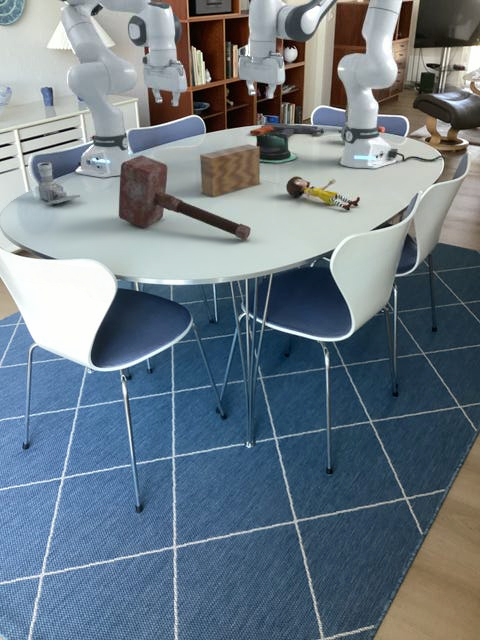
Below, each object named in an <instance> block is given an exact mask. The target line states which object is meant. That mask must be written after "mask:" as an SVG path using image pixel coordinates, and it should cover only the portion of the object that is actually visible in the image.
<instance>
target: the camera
mask: <svg viewBox="0 0 480 640" xmlns="http://www.w3.org/2000/svg"><path fill="white" fill-rule="evenodd" d="M37 169H38V172H39V174H40V179H41V182H39V183H38V186H37V187H38V194H39V198H40V199H42V200H45V201H47V205H53V204H60V203H63V202H67V201H70V200H75V199H78V198H81V197H82V196H81V195H80V194H73V195H68V194H67V192H66V190H64V186H62V185H61V184H59V183H55V181H54V177H53V166H52V163H51V162H50V161H43V162H39V163H37ZM67 195H68V196H67Z"/></svg>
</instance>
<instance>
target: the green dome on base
mask: <svg viewBox="0 0 480 640" xmlns="http://www.w3.org/2000/svg"><path fill="white" fill-rule="evenodd" d="M255 146H258V147H260V162H266V163H276V164H280V163H281V164H282V163H285V162H290V161H292V160H293V161H294V160H296V158H297V155H296V154H295V153H293V152H291V150H290V149H289V137H288V136H287V135H286V134H284V133H282V132H267V133H263V134H259V135H257V136H256V144H255Z"/></svg>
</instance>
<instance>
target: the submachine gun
mask: <svg viewBox="0 0 480 640" xmlns="http://www.w3.org/2000/svg"><path fill="white" fill-rule="evenodd" d="M318 128H319V127H318V126H315V125H313V126H312V125H304V124H303V125H302V124H291V123H278V122H264V124H262V125H261V126H260V127H259V128H256V129H252V130H250V131H249V134H250V135H251V136H255V137H257V135H259V134H263V133H267V132H279V133H284V134H286V135H287V136H288V138H290V137H291V136H292V135H293V134H311V136H312V137H319V136H322V135H323V134H324V133H325V130H324V128H319V129H318Z"/></svg>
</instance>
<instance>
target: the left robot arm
mask: <svg viewBox="0 0 480 640" xmlns="http://www.w3.org/2000/svg"><path fill="white" fill-rule="evenodd" d="M58 1H59V2H61V3H66V4H67V5H66V6H65V7H64V8H63V9H62V10H61V12H60V22H61V26H62V30H63V32H64V35H65V38H66V39H67V42H68V44H69V46H70V48H71V50H72V52H73V54H74V56H75V58H76V59H77V60H78V61H79V62H80V63H78V64H76V65H72V66H71V67H69V69H68V71H67V74H66V81H67V85H68V88H69V89H70V91H71V92H72V93H73V94H74V96H77V97H78V98H79V99H81V100H82V101H83V103H85V105H86V106H87V107H88V109H89V111H90V114H91V117H92V122H93V126H94V133H95V134H93V135H92V136H90V137H89V141H92V145H91V146H90V147H88V148H87V149H86V150H85V151H84V152H83V153H82V154H81V157H80V159H79V161H78V162H77V165H79V167H77V168H76V169H75V174H79V175H85V176H90V177H97V178H111V177H116V176H120V173H121V164H122V163H123V162H125V161H128V160H130V159H131V156H130V155H131V152H130V151H129V142H128V135H127V132H126V126H125V119H124V118H125V117H124V112H123V111H122V110H121V108H120V107H118V106H116V105H114V104H112V103H110V102H109V100H108V99H107V96H108V95H114V94H115V95H116V94H123V93H126V92H129V91H131V90H133V89H135V88H136V85H137V83H138V73H137V69H136V68H135V65H133V63H131V62H130V61H128V60H126V59H123V58H121V57H119V56H118V55H117V54H115V53H114V52H113V51H112V50H110V49H109V48H108V46H106V44H105V43H104V41H103V40H102V37H101V36H100V34H99V32H98V30H97V29H96V25H94V23H93V20H92V17H94V16H95V17H96V16H97V15H98V14H99V12H101V11H102V10H103V9H106V10H108V11H111V12H117V13H118V12H121V13H132V14H134V15H132V16H131V17H130V18H129V21H128V23H127V34H128V37H129V39H130V41H131V42H132V43H133V44H134V46H136V47H140V48H146V47H147V48H148V53H147V54H145V55H143V56H142V57H141V64H142V65H143V66H142V75H143V81H144V85H145V87H146V88H149V89H152V93H153V96H154V98H155V103H157V104H162V103H163V97H162V96H161V93H160V91H166V92H171V93H172V99H171V100H170V102H171V106H172V107H178V106H179V100H180V96H181V93H185V92H187V90H188V82H187V75H186V70H185V68H184V65H183V63H182V62H181V61H180V60H178V55H177V46H176V45H177V44H178V42H179V41H180V39H181V38H182V34H183V27H182V23H181V20H180V19H179V16H177V15H176V14H175V13H174V12H173V9H172V7H171V4H169V3H167V2H164V1H157V0H156V1H155V0H58Z"/></svg>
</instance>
